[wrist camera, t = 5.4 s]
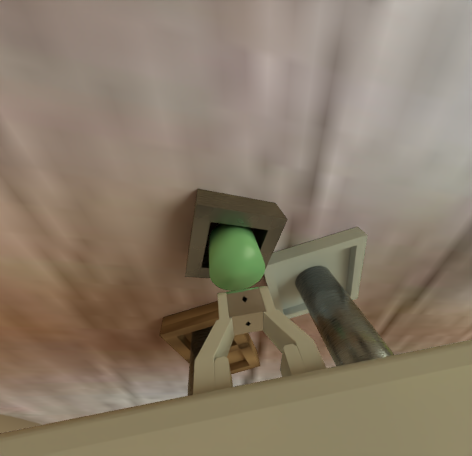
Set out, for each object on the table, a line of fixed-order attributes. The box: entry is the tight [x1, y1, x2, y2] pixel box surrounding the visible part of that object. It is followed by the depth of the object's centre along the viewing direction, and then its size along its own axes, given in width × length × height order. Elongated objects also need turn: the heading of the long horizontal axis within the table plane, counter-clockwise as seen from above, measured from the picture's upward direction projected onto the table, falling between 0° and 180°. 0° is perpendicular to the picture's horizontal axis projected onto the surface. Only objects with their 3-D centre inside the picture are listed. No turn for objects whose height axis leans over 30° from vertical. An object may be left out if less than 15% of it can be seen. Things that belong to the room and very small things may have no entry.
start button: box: [209, 223, 265, 291], centre depth 15 cm, size 4×4×4 cm
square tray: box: [264, 227, 368, 319], centre depth 22 cm, size 11×11×2 cm
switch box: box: [185, 189, 287, 282], centre depth 16 cm, size 7×7×3 cm
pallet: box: [160, 301, 260, 374], centre depth 27 cm, size 16×9×2 cm, turn 16°
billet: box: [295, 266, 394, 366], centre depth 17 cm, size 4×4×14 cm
